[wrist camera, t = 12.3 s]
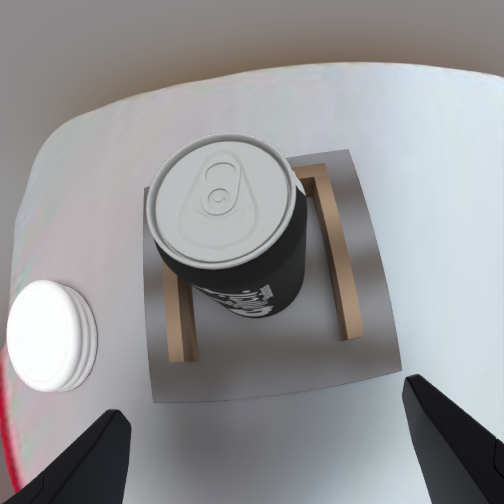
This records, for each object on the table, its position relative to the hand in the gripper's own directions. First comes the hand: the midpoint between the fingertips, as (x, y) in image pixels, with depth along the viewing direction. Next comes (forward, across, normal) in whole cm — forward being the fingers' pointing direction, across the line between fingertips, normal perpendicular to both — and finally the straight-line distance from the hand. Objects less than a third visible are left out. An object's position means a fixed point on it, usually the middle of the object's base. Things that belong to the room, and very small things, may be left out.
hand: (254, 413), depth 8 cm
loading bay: (+15, +1, +4) cm, 16 cm away
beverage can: (+14, +1, +3) cm, 15 cm away
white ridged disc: (+13, +20, +6) cm, 25 cm away
